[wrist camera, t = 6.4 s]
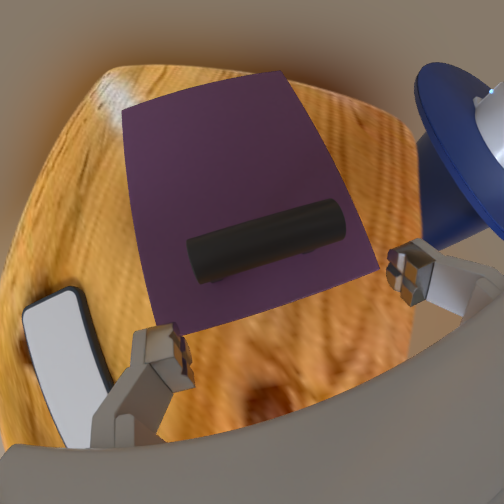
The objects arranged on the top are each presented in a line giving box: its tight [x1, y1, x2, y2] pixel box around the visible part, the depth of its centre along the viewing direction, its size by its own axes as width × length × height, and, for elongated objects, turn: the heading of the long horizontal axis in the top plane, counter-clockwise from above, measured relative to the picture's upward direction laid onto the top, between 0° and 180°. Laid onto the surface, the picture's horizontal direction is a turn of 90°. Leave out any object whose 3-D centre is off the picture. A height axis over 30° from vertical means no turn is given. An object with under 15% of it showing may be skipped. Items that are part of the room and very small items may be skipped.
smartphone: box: [22, 286, 114, 448], centre depth 20 cm, size 9×2×16 cm
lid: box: [122, 71, 380, 336], centre depth 14 cm, size 16×13×6 cm
